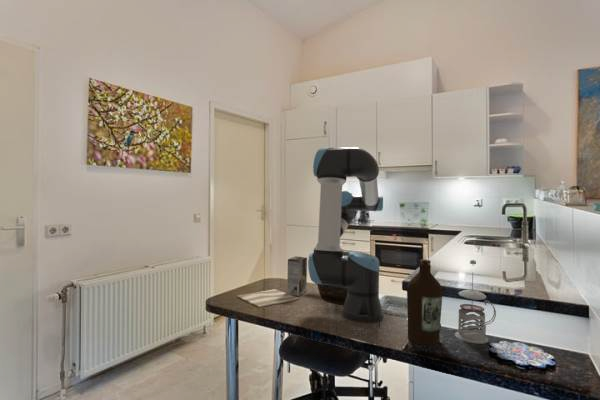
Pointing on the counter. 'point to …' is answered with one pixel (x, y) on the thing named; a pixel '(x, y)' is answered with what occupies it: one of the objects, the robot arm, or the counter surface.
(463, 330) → the french press
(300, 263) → the coffee box
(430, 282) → the olive oil
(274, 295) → the board
